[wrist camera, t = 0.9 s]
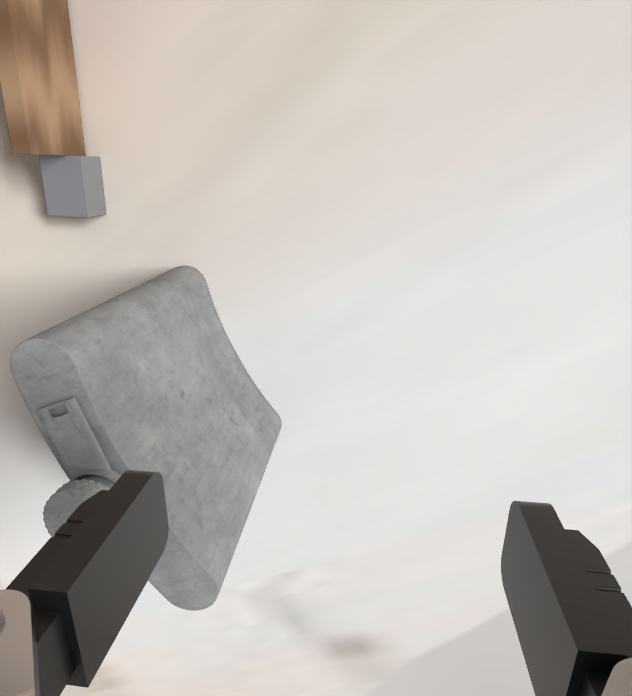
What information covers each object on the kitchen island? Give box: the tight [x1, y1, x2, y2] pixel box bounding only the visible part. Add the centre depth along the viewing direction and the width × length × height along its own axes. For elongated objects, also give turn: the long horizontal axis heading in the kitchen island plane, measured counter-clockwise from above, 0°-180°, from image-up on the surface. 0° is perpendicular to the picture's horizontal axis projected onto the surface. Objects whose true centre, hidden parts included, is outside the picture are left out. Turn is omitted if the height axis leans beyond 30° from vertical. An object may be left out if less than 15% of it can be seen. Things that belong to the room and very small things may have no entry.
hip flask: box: [11, 266, 281, 610], centre depth 30 cm, size 16×4×20 cm, turn 25°
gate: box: [0, 0, 86, 156], centre depth 30 cm, size 14×1×6 cm, turn 178°
